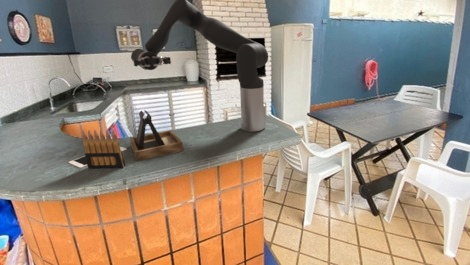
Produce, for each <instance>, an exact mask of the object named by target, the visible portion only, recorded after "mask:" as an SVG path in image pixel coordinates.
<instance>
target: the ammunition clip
mask: <svg viewBox="0 0 470 265" xmlns="http://www.w3.org/2000/svg"><path fill="white" fill-rule="evenodd" d="M81 136H82V141H83V148H84V151H85V153H84V156H86V161H87V166H86V167H87V169H88V170H115V169H116V170H118V169H119V170H120V169H124V168H125V166H126V163H125V162H126V161H125V158H124V155H123V151H122V150H121V149H120V147H121V146H120V141H119V139H118V135H117V133H116V130H114V129H112V131H111V133H110V131H109V130H108V129H106V130H105V134H104V132H103V130H102V129H100V130H99V134H98V131H97V130H96V129H94V131H93V133H92V131H91V130H90V129H88V132H87V133H86V131H85V130H84V129H83V130H82V131H81Z"/></svg>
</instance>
